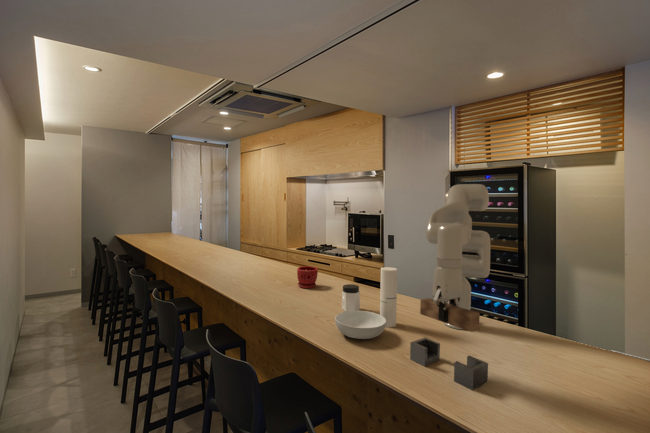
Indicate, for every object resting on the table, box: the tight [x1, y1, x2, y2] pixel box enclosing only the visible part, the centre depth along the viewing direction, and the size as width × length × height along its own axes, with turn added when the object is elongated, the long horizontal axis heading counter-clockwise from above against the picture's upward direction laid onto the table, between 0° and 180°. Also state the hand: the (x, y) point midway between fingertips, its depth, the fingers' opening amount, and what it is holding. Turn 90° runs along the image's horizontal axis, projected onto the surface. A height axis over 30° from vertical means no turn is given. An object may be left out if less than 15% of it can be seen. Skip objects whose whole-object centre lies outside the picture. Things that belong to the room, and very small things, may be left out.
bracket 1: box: [409, 337, 441, 367], centre depth 117 cm, size 6×8×6 cm
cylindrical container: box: [379, 266, 398, 328], centre depth 150 cm, size 7×7×25 cm
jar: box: [341, 283, 361, 312], centre depth 170 cm, size 9×8×12 cm
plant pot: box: [296, 265, 319, 289], centre depth 216 cm, size 13×13×12 cm
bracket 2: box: [453, 355, 489, 391], centre depth 103 cm, size 6×8×6 cm
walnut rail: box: [419, 297, 481, 333], centre depth 109 cm, size 19×4×5 cm, turn 35°
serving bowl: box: [334, 310, 386, 340], centre depth 139 cm, size 21×21×7 cm
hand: (447, 318), depth 109 cm, fingers closed on walnut rail, 4 cm apart
